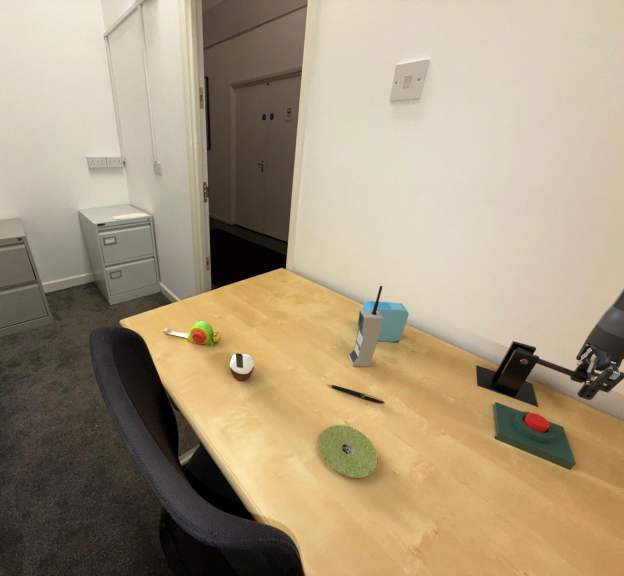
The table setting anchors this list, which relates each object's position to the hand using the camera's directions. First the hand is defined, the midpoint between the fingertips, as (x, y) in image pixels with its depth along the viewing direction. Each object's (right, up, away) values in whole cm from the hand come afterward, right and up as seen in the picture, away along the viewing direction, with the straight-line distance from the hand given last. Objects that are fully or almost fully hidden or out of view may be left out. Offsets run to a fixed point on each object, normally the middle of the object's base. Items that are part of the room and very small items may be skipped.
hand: (579, 388), depth 69 cm
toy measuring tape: (-95, +7, +25) cm, 98 cm away
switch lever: (-5, +4, +2) cm, 7 cm away
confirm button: (-16, -6, -5) cm, 18 cm away
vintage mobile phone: (-45, +2, +17) cm, 48 cm away
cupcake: (-79, -1, +11) cm, 80 cm away
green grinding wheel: (-57, -11, -8) cm, 59 cm away
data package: (-34, +7, +27) cm, 45 cm away
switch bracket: (-10, -3, +9) cm, 14 cm away
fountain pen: (-50, -4, +6) cm, 51 cm away
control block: (-16, -9, -4) cm, 19 cm away
